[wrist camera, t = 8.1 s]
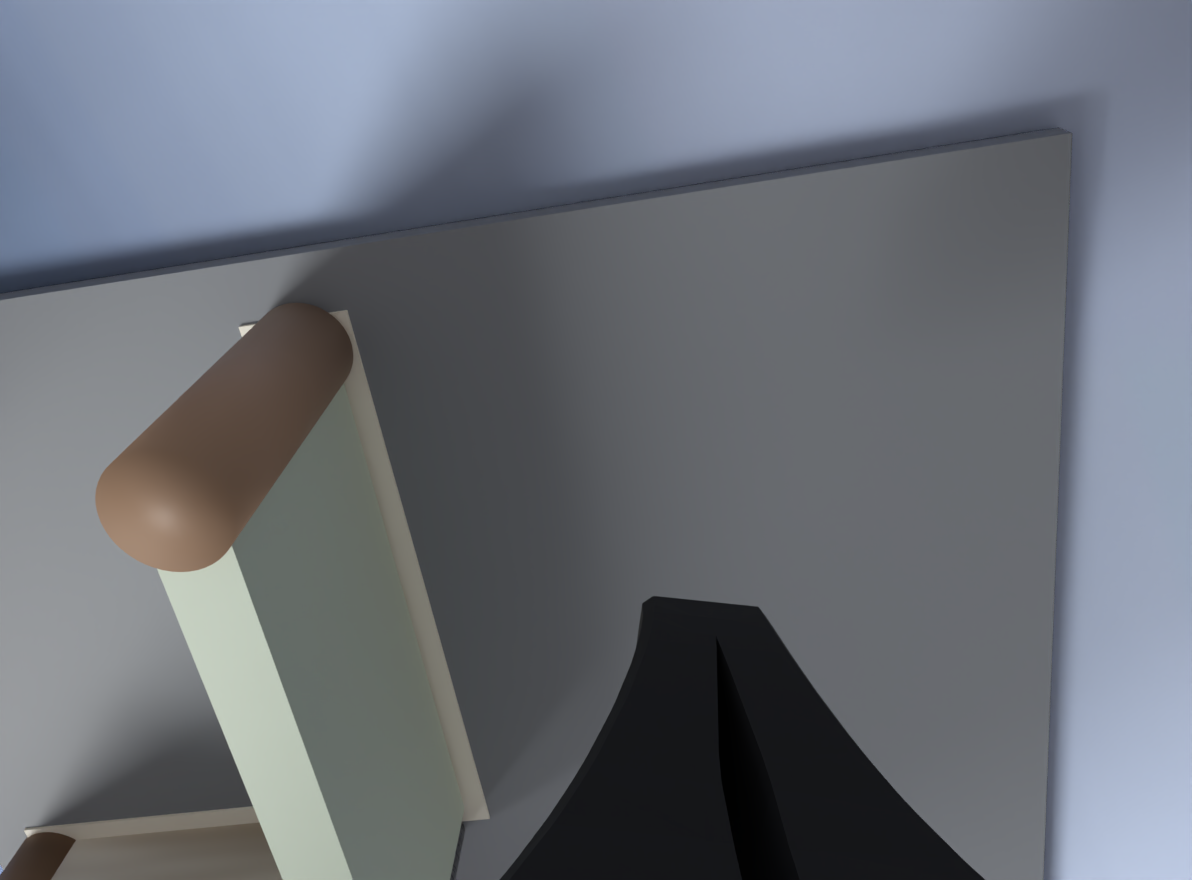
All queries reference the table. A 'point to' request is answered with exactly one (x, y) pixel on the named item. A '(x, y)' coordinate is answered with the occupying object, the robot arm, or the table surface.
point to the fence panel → (294, 604)
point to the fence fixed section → (148, 856)
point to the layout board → (596, 483)
